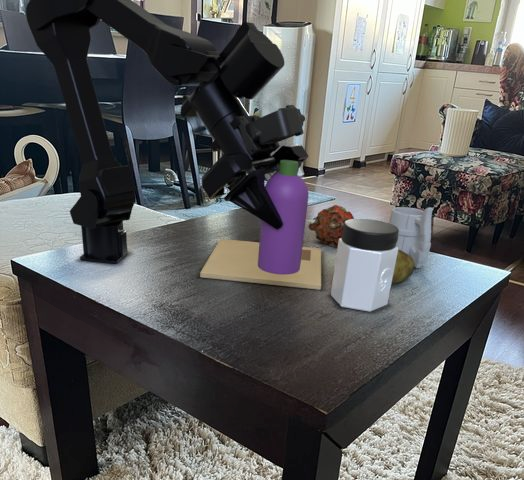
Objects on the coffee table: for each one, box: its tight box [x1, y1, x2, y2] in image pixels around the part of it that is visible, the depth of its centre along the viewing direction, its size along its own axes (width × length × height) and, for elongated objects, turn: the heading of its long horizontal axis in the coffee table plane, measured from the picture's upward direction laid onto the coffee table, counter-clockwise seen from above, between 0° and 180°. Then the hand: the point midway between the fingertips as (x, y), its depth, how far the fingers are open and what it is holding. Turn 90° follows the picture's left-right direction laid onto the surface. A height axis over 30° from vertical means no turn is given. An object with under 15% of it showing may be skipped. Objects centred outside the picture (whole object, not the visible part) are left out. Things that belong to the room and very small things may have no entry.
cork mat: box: [199, 238, 322, 291], centre depth 96 cm, size 20×20×1 cm
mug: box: [388, 206, 434, 269], centre depth 99 cm, size 8×12×12 cm, turn 17°
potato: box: [391, 249, 415, 285], centre depth 91 cm, size 8×13×8 cm, turn 92°
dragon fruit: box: [307, 204, 355, 248], centre depth 109 cm, size 8×8×12 cm
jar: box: [330, 218, 399, 313], centre depth 81 cm, size 9×8×12 cm
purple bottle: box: [258, 160, 310, 275], centre depth 72 cm, size 6×6×14 cm
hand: (292, 222), depth 72 cm, fingers closed on purple bottle, 6 cm apart
